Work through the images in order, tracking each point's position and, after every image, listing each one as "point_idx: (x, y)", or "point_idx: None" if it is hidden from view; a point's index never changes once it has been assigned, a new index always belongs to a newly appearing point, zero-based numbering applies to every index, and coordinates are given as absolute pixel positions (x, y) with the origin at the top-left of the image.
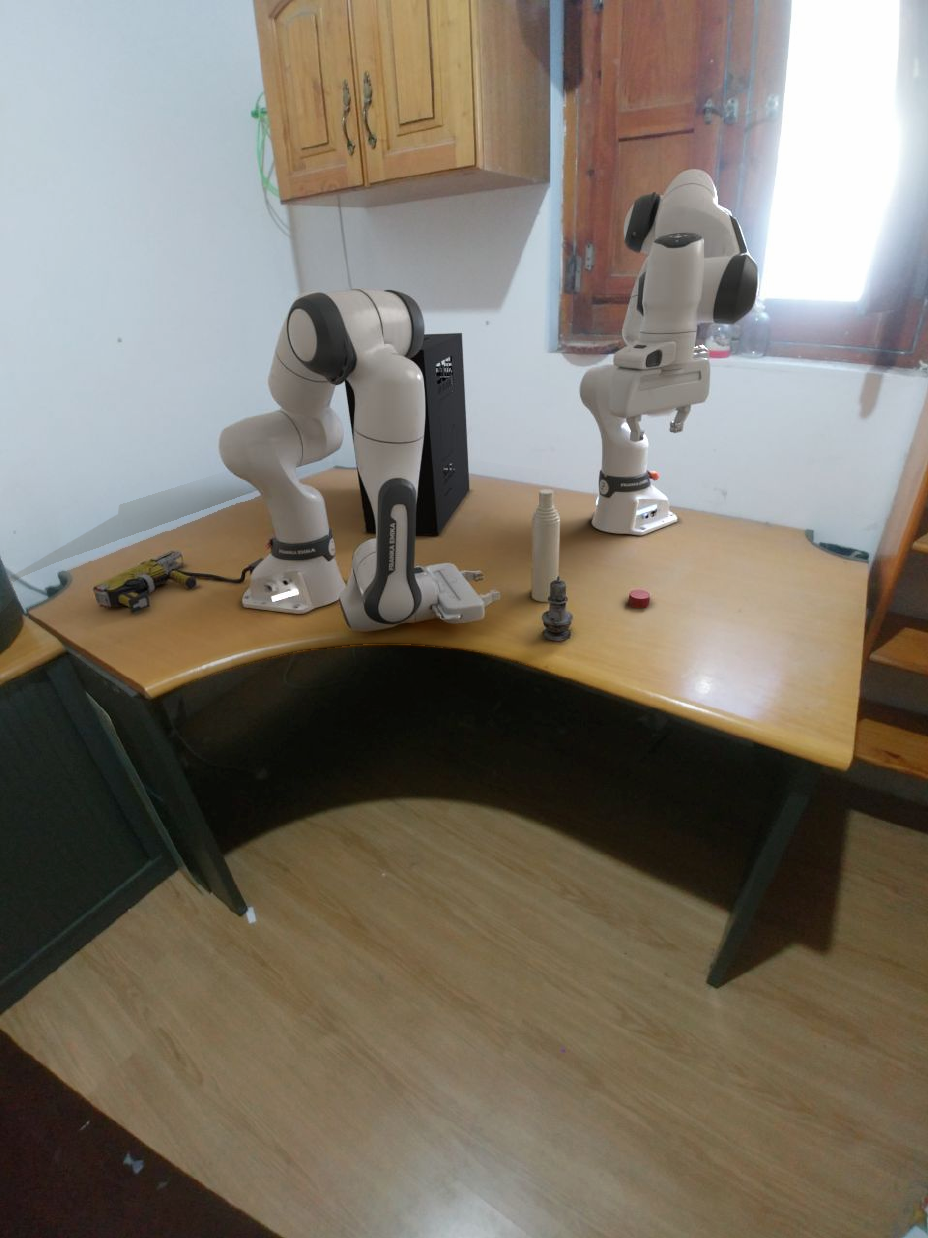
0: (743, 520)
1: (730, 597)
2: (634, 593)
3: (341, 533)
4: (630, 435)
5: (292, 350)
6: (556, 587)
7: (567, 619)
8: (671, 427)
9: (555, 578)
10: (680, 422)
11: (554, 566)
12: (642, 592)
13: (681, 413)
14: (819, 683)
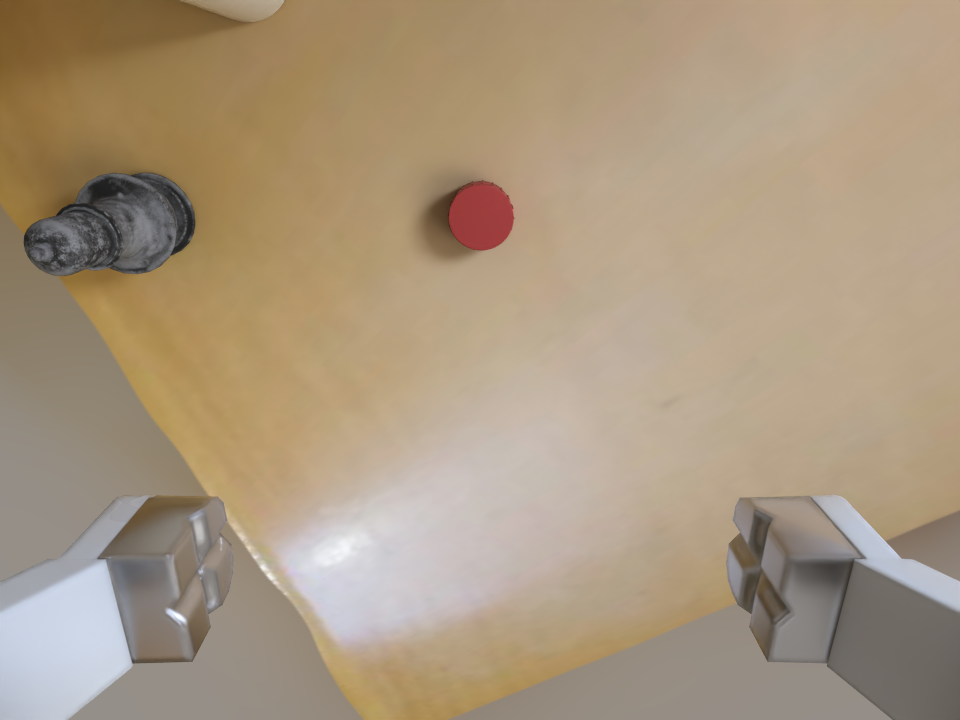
0: None
1: (720, 342)
2: (470, 204)
3: None
4: (97, 522)
5: None
6: (35, 265)
7: (139, 263)
8: (761, 533)
9: (229, 8)
10: (823, 654)
11: (198, 2)
12: (496, 214)
13: (958, 697)
14: (529, 645)
